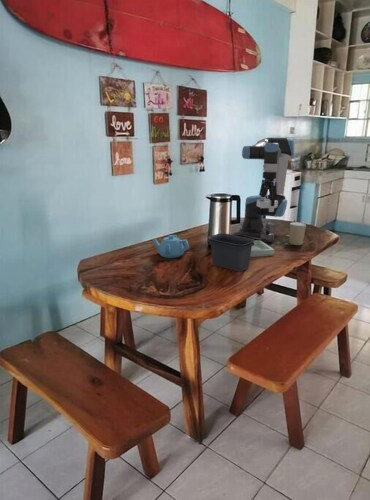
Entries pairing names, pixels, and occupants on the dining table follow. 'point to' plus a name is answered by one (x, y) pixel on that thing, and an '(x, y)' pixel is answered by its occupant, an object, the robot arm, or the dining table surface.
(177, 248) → the teapot
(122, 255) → the dining table surface
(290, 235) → the coffee cup
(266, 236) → the stake stand
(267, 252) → the tray
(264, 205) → the ring
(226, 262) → the storage bin
